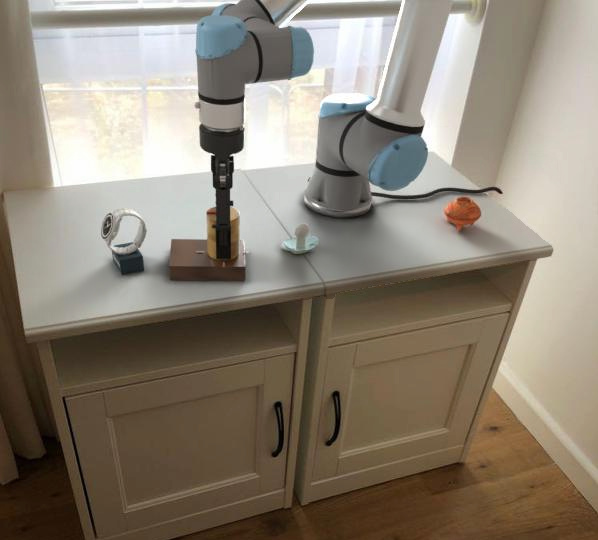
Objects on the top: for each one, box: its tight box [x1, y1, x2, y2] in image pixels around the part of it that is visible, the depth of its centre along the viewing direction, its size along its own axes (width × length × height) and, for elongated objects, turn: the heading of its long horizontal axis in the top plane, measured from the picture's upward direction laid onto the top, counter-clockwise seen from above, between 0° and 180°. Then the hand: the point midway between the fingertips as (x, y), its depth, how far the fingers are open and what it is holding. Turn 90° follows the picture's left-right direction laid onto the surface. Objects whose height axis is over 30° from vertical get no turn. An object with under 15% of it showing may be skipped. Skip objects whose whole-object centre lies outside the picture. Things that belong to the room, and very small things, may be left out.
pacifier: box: [280, 222, 319, 255], centre depth 132 cm, size 7×6×6 cm
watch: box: [100, 208, 148, 276], centre depth 122 cm, size 6×8×11 cm
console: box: [168, 238, 251, 282], centre depth 126 cm, size 15×10×3 cm
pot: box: [443, 196, 482, 233], centre depth 144 cm, size 8×8×7 cm
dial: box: [206, 206, 241, 261], centre depth 122 cm, size 6×6×8 cm
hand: (223, 248), depth 125 cm, fingers closed on dial, 6 cm apart
